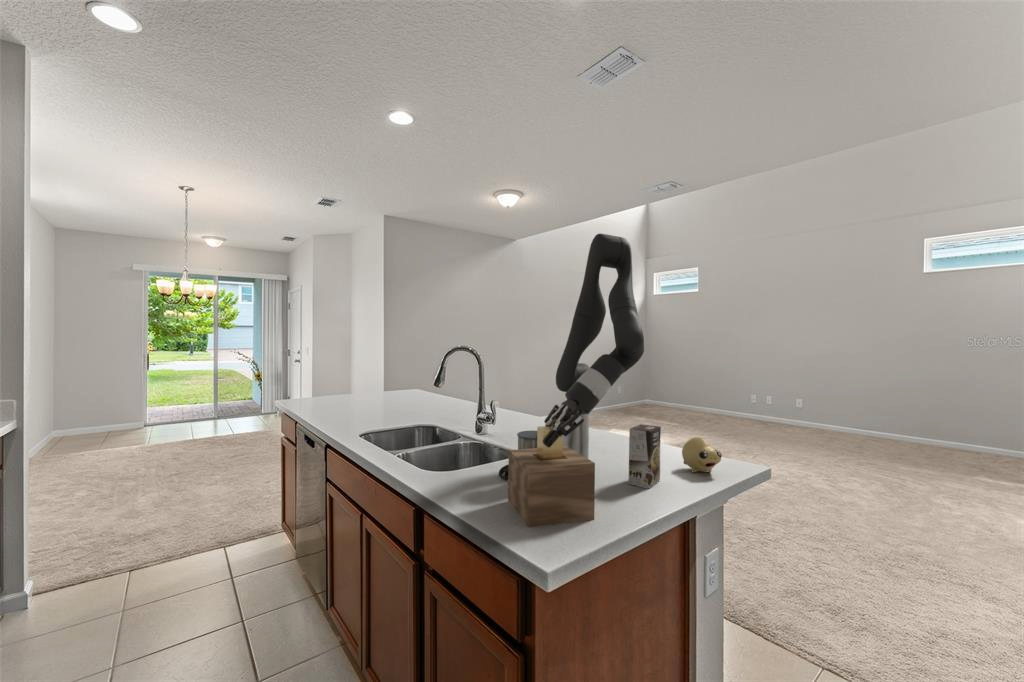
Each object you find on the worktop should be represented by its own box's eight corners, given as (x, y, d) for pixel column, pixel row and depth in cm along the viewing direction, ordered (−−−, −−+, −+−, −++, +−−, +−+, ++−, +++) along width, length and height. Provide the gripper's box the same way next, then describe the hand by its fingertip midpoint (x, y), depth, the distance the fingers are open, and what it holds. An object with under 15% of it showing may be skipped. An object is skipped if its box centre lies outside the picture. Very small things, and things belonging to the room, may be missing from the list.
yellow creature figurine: (698, 479, 129) (698, 443, 129) (676, 467, 141) (676, 434, 141) (727, 477, 131) (728, 442, 131) (703, 465, 143) (703, 433, 143)
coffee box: (650, 489, 120) (650, 431, 120) (627, 484, 124) (628, 428, 124) (661, 481, 127) (661, 426, 127) (639, 476, 131) (640, 423, 131)
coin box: (508, 501, 111) (508, 450, 111) (566, 495, 115) (566, 446, 115) (528, 527, 95) (529, 468, 95) (594, 519, 100) (594, 463, 100)
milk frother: (546, 493, 116) (547, 438, 116) (489, 488, 120) (490, 435, 120) (553, 477, 130) (553, 427, 130) (502, 473, 134) (502, 424, 134)
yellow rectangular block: (537, 463, 106) (537, 426, 106) (556, 461, 108) (556, 425, 108) (542, 468, 103) (543, 430, 103) (562, 466, 104) (562, 428, 104)
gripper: (566, 377, 114) (522, 426, 111) (591, 383, 100) (542, 439, 97) (584, 397, 116) (541, 445, 112) (612, 405, 102) (564, 460, 99)
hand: (542, 442), depth 105 cm, fingers closed on yellow rectangular block, 4 cm apart
